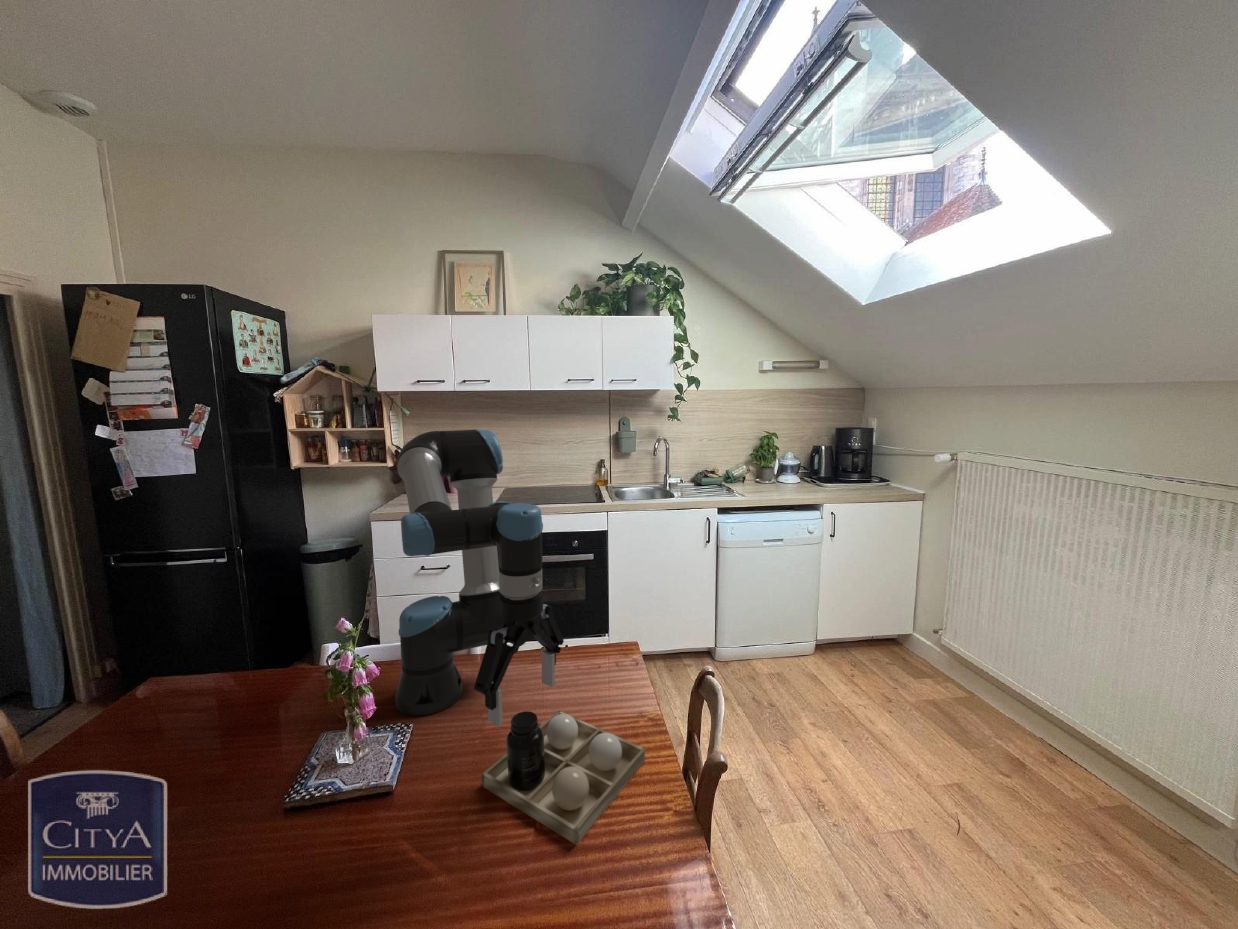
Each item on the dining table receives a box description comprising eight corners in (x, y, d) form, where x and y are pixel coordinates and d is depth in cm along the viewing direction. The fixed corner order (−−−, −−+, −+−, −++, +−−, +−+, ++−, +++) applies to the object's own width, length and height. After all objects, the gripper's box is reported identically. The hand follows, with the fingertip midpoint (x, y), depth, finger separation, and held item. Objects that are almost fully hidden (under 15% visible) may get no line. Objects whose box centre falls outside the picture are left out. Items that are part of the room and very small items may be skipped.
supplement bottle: (549, 765, 94) (547, 709, 92) (539, 794, 87) (537, 734, 86) (515, 762, 95) (512, 706, 93) (502, 790, 88) (499, 730, 86)
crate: (482, 791, 89) (481, 773, 89) (559, 725, 107) (559, 710, 107) (576, 850, 78) (576, 831, 77) (645, 765, 96) (645, 749, 95)
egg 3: (582, 770, 93) (581, 739, 92) (601, 750, 98) (601, 721, 97) (609, 785, 90) (609, 753, 89) (628, 763, 95) (628, 733, 94)
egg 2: (544, 809, 84) (544, 775, 83) (568, 785, 90) (567, 753, 89) (573, 827, 81) (573, 791, 80) (596, 800, 86) (596, 767, 85)
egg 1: (540, 749, 99) (539, 719, 98) (560, 731, 104) (560, 703, 103) (564, 761, 95) (564, 731, 94) (584, 742, 101) (584, 714, 100)
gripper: (480, 625, 74) (485, 752, 77) (581, 574, 94) (581, 676, 98) (448, 612, 78) (453, 733, 81) (551, 566, 98) (552, 664, 102)
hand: (523, 702), depth 89 cm, fingers open, 13 cm apart
